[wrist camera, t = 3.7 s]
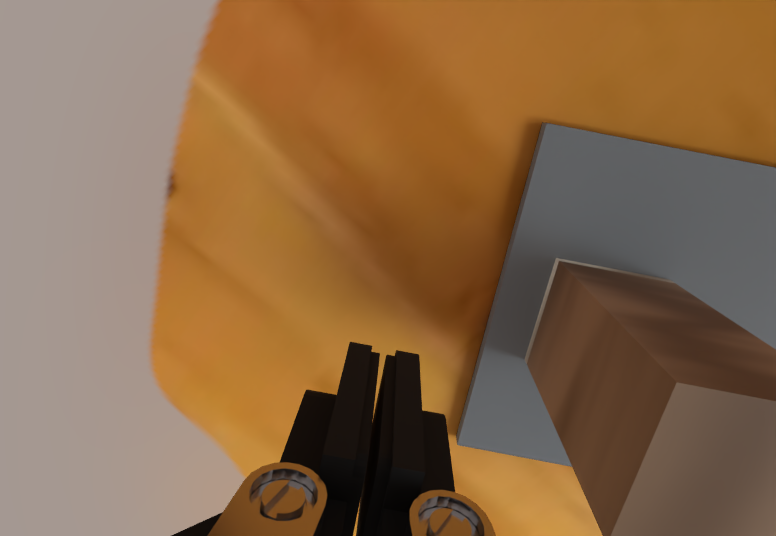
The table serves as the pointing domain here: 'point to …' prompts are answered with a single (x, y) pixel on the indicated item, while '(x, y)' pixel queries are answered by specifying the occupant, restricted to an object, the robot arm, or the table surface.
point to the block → (657, 404)
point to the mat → (618, 258)
